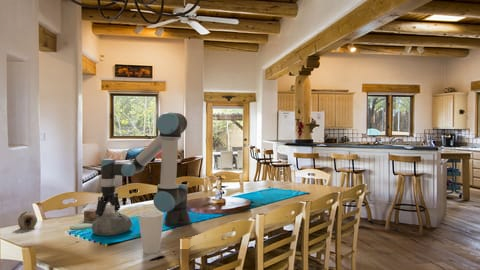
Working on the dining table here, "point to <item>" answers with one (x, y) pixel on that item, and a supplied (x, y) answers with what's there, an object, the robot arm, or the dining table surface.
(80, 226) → the coaster
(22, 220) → the grey rounded ring
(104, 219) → the decorative stone
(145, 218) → the cup
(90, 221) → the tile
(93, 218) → the walnut block
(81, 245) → the dining table surface
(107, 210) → the mug
